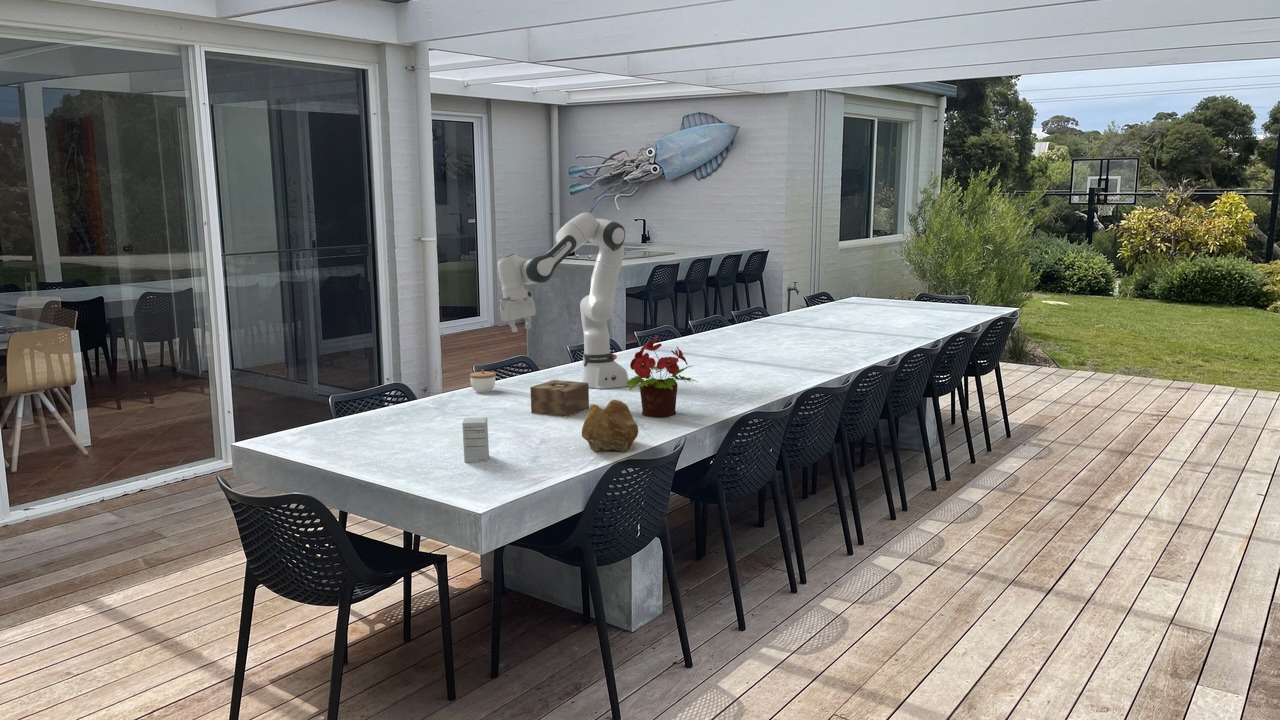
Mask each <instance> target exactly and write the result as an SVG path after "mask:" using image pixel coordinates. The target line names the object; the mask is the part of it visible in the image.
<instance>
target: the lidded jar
mask: <svg viewBox="0 0 1280 720" xmlns="http://www.w3.org/2000/svg"><path fill="white" fill-rule="evenodd" d="M484 370H485V369H481V371H476V372H475V371H474V372H471V373H469V378H470V385H471V387H472V389H473V390H474V391H475V392H476V393H477V392H478V394H484V393H485V394H486V393H490V392H491V391H492V390H493V389H494V387H495V385H496V375H497V374H496V372H494V371H484Z"/></svg>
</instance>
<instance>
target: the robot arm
mask: <svg viewBox="0 0 1280 720" xmlns="http://www.w3.org/2000/svg"><path fill="white" fill-rule="evenodd" d="M625 240H626V229H625V227H624V226H623V225H622V224H621V223H619V222H617V221H613V220H610V219H606V218H597V217H595V216H594V215H593V214H592V213H590V212H587V211H586V212H581V213H580V214H578V215H576V216H574V217H573V218H571V219H570V220H569V221H567V222H565V224H564V225H563V226H562V227H560V229H559V230H558V231H557V233H556V234H555V245H554V246H553V247H551V248H550V250H548V251H547V252H546V253H545V254H543V255H539V256H536V257H534V258H531V259H527V258H525V257H521V256H519V255H517V254H515V253H509V254H508V255H505V256H502V257H500V258H499V259H498V260H497V272H498V278H499V281H500V283H501V293H502V298H501V300H500V302H499V304H500V305H499V313H500V319H501V321H502V322H503V323H507V322H508V325H509V327H510V328H511V331H512V333H517V332H519V329H518V326H516V324H515V323H516V322H515V321H517V320H520V319H524V321H525V324H524V329H525V330H528V329H531V328H532V327H531V321H532V318H531V317H533V316H536V312H537V311H536V304H535V300H534V298H533V297H534V295H533V294H534V293H533V291H530V290H528V289H527V288H525V285H535V284H538V283H539V284H540V283H541V284H542V283H546V282H548V281H549V280H550V279H551V278H552V277H553V274H554V272H555V270H556V268H557V267H558V266H559V265H560V264H561V262H563V261H564V260H565V259H566V258H567V257H568V256H569V255H570V254H572V253H573V252H575V251H577V250H578V249H580V248H581V247H582V246H583V245H585V243H591V244H594V245H597V246H598V248H599V251H598V253H597V256H596V259H595V263H594V267H593V270H592V274H591V277H590V289H589V290H590V291H589V294H587V295H586V296H584V297H583V298H582V299H581V300H580V303H579V309H580V316H581V317H580V318H581V325H582V326H581V327H582V331H583V332H582V333H583V350H584V352H583V355H582V361H583V362H582V363H583V375H582V381H581V382H584V383H588V386H589V389H590V388H592V389H598V390H605V389H606V390H607V389H615V388H623V387H631V386H632V385H628V384H626V382H627V381H629V379H630V378H629V374H628V371H627V370H626V369H625V368H624V367H623V366H622V365H621V364H619V363H618V362H617V361H615V360H616V359H617V358H618V355H616V354H615V353H613V352H611V351H610V350H611V347H610V343H611V342H610V340H611V339H610V338H611V337H610V332H609V331H610V330H609V328H608V323H607V322H608V321H609V320H610V319H611V317H612V315H613V312H614V304H615V303H614V302H615V295H616V287H617V282H618V279H619V276H620V272H621V268H622V265H623V260H624V259H623V258H624V255H625V254H624V252H625V246H624V244H625V243H624V242H625ZM626 385H628V386H626Z"/></svg>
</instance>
